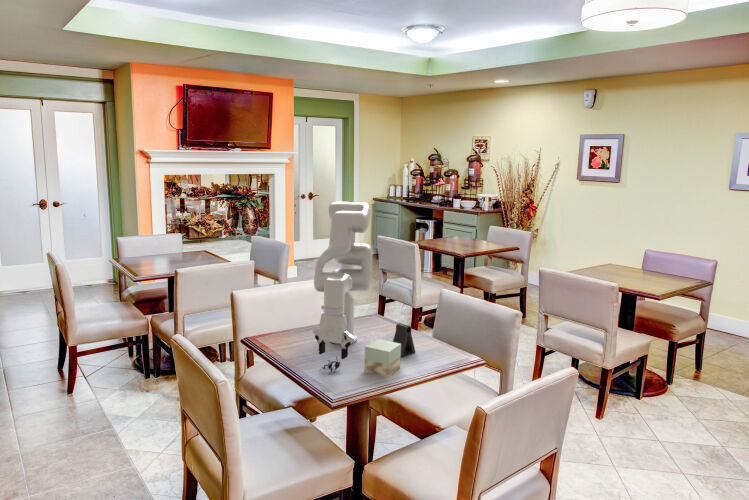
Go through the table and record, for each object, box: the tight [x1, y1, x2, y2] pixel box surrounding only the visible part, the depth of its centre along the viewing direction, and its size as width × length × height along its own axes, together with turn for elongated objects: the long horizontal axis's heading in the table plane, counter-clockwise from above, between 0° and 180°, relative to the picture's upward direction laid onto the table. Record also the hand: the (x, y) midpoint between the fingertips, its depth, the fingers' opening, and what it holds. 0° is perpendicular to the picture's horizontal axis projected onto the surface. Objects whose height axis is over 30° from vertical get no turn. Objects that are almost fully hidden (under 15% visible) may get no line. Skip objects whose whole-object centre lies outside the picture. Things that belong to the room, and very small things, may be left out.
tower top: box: [364, 338, 401, 365], centre depth 203 cm, size 10×10×5 cm
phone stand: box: [392, 322, 416, 358], centre depth 221 cm, size 9×6×12 cm, turn 133°
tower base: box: [363, 357, 401, 378], centre depth 204 cm, size 10×10×5 cm
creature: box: [319, 355, 341, 375], centre depth 201 cm, size 8×5×8 cm
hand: (333, 355), depth 200 cm, fingers open, 9 cm apart
